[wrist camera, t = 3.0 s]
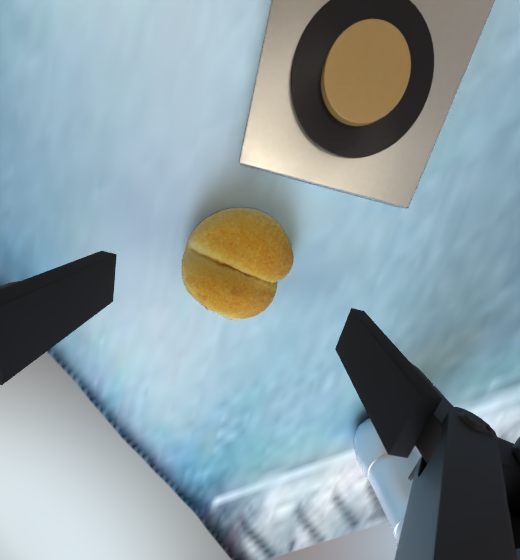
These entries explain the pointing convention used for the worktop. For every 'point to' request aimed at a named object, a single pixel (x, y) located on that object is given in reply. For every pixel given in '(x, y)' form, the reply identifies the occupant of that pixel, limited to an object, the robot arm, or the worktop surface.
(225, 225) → the bread roll
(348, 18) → the push button
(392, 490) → the plastic bottle
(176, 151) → the worktop surface
